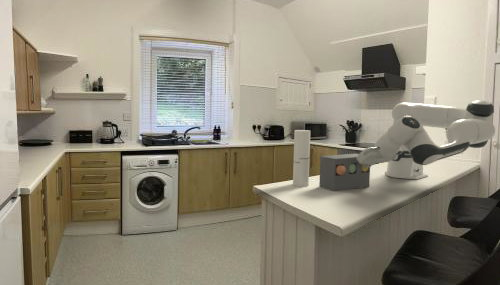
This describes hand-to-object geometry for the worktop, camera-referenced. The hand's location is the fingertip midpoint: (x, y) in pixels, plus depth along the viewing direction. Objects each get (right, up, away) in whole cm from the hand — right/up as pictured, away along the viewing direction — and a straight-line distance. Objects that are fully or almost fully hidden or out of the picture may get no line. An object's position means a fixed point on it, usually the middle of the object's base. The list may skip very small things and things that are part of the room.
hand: (366, 166), depth 152 cm
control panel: (-10, -9, +2) cm, 14 cm away
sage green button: (-8, -3, -2) cm, 9 cm away
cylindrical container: (-29, -9, +3) cm, 31 cm away
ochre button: (-1, -2, +2) cm, 3 cm away
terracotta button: (-14, -3, -7) cm, 16 cm away
